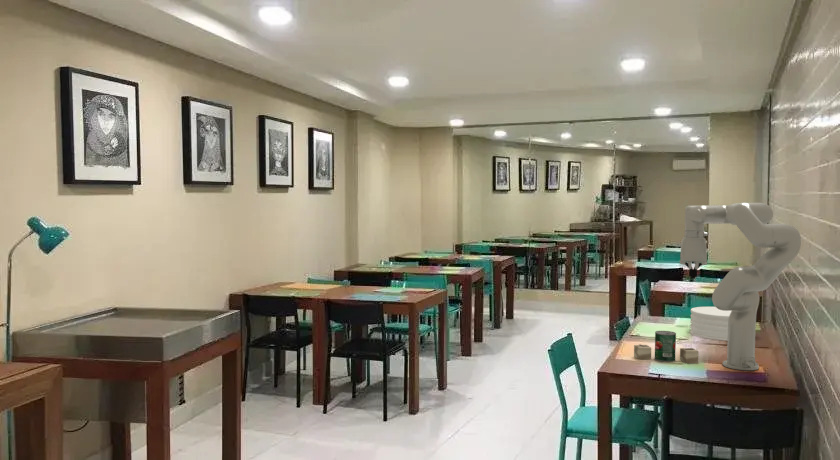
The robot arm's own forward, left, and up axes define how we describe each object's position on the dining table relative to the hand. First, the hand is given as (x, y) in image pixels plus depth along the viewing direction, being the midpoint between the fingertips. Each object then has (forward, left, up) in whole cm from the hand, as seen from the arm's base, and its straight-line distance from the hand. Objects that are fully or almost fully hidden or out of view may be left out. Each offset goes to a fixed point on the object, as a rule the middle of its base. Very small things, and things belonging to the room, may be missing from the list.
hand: (692, 278), depth 275 cm
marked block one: (-17, +10, -31) cm, 37 cm away
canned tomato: (-13, +18, -31) cm, 38 cm away
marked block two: (-10, +26, -31) cm, 42 cm away
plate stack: (+33, -33, -32) cm, 56 cm away
